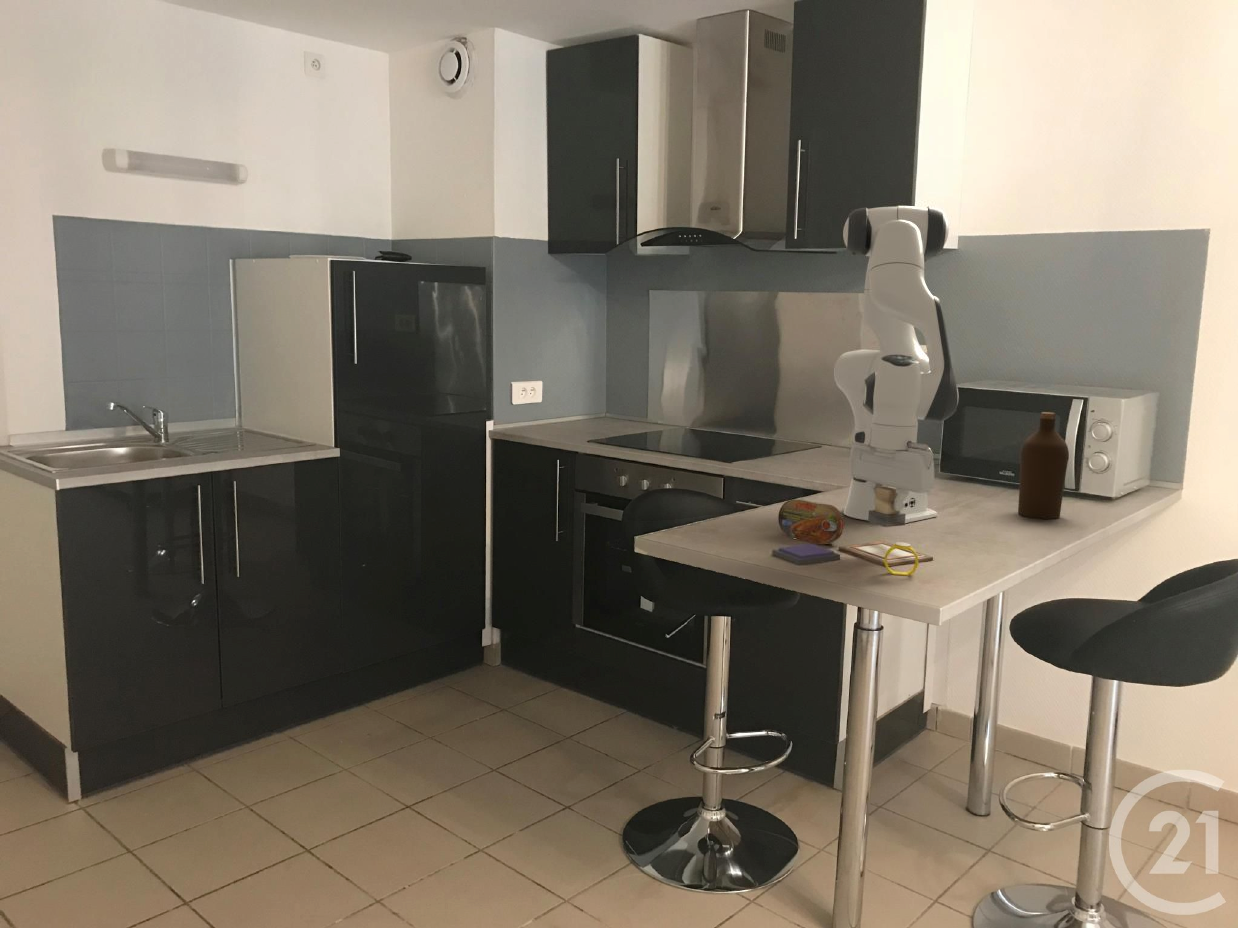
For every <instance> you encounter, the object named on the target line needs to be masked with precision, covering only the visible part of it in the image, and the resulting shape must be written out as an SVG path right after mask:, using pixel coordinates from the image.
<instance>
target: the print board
mask: <svg viewBox="0 0 1238 928" xmlns="http://www.w3.org/2000/svg"><path fill="white" fill-rule="evenodd" d="M894 545H895V544H893V543H889V542H887V541H884V540H883V541H876V542H867V543H865V542H864V543H858V544H852V545H842V546H838V547H837V548H838V549H837V550H838V551H840V552H844V553H847V554H850V555H852V556H856V557H858V558H861V559H864V560H866V561H869V562H873V563H876V564H878V565H881V566H884V567H886V566H885V563H884V558H885V554H886V552H887V551H888V549H889V548H890V547H892V546H894ZM915 552H916V554H917V556H918V563H922V562H929V561H930V562H931V561H934V557H933V556H930V555H928V554H924V553H920V552H918V551H915ZM915 563H916V557H915V555H914V554H913V552H912V551H910V550H909V549H899V548H896V549H894V550H892V551H891V552H890V553H889V555H888V556H887V564H888V567H894V566H900V565H907V564H908V565H909V564H915Z"/></svg>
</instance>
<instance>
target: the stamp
mask: <svg viewBox="0 0 1238 928" xmlns="http://www.w3.org/2000/svg"><path fill="white" fill-rule="evenodd" d="M897 495H898V494H897V493H896V488H894V487H877V488H876V501H875V510H870V511H869V515H868V520H867V523H871V524H874V525H876V526H881V527H885V528H890V527H901V526H905V525H906V523H905V516H906V514H904V513H901V512H900V511H896V510H892V509H891V501H895V499H896V497H897Z"/></svg>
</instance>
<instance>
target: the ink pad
mask: <svg viewBox="0 0 1238 928" xmlns="http://www.w3.org/2000/svg"><path fill="white" fill-rule="evenodd" d="M771 551H772V552H771V555H772V554H773V555H772V556H775V555H776V556H775V557H777V558H779V559H782V558H783V559H782V560H785V561H787V562H790V563H793V564H796V565H799V566H801V565H809V564H816V563H817V564H818V563H823V562H824V563H826V562H833V561H839V560H841V554H840V553H836V552H835V551H833V550H830V549H826V548H824V547H821V546H818V545H815V544H814V543H804V544H797V545H790V546H780V547H778V548H774V549H772V550H771Z"/></svg>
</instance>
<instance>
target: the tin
mask: <svg viewBox="0 0 1238 928" xmlns="http://www.w3.org/2000/svg"><path fill="white" fill-rule="evenodd" d="M777 519H778V525H779V527H780V529H781V531H782V533H783V534H784V535H785V536H786V537H788V538H790V537H791V538H790V539H793V538H796V539H795V540H798V541H802V542H803V541H804V542H808V543H811V544H817V545H827V544H830V543H831V544H832V543H834V542H836V541H837V540H839V538H840V537H841V536H842V535H843V531H844V517H843V515H842V513H841V512H840V510H839V508H837V507H835V506H833V505H832V504H827V503H820V502H816V501H809V500H804V499H790V500H787V501H785V502H784V503H783V504H782V505H781V507H780V509H779V511H778V516H777Z"/></svg>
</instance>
